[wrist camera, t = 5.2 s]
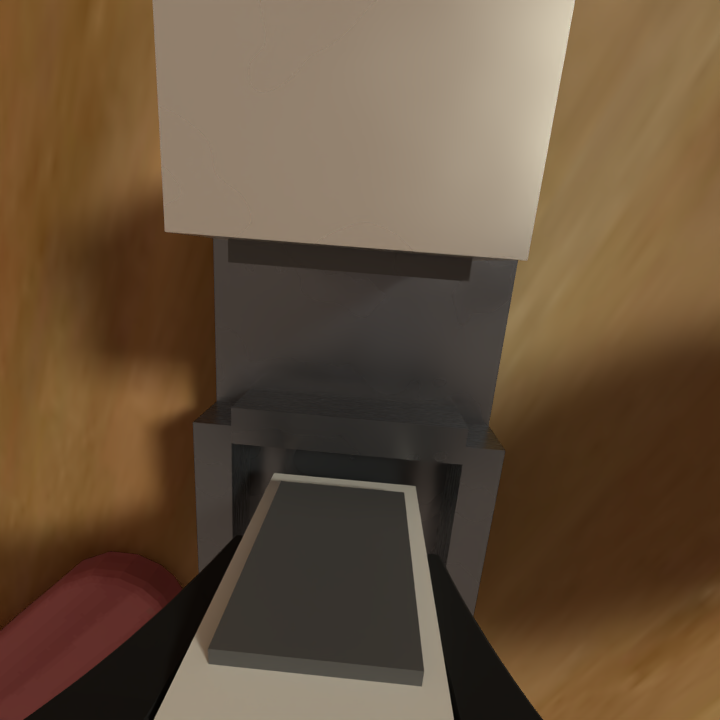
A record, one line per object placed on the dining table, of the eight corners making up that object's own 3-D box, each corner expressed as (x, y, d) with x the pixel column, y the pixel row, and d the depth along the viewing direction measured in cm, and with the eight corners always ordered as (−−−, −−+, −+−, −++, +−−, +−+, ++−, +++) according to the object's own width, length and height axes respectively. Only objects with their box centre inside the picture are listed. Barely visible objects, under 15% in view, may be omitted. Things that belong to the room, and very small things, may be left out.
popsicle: (-116, 737, 16) (91, 548, 13) (-74, 697, 18) (121, 518, 15) (-13, 804, 17) (204, 640, 14) (19, 760, 19) (221, 603, 16)
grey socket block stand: (538, 26, 10) (996, -639, 3) (445, 591, 14) (513, 926, 7) (231, 7, 10) (-154, -666, 3) (236, 569, 15) (97, 875, 7)
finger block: (400, 600, 12) (422, 937, 6) (271, 587, 12) (169, 906, 6) (416, 476, 11) (463, 741, 5) (274, 463, 11) (149, 707, 5)
